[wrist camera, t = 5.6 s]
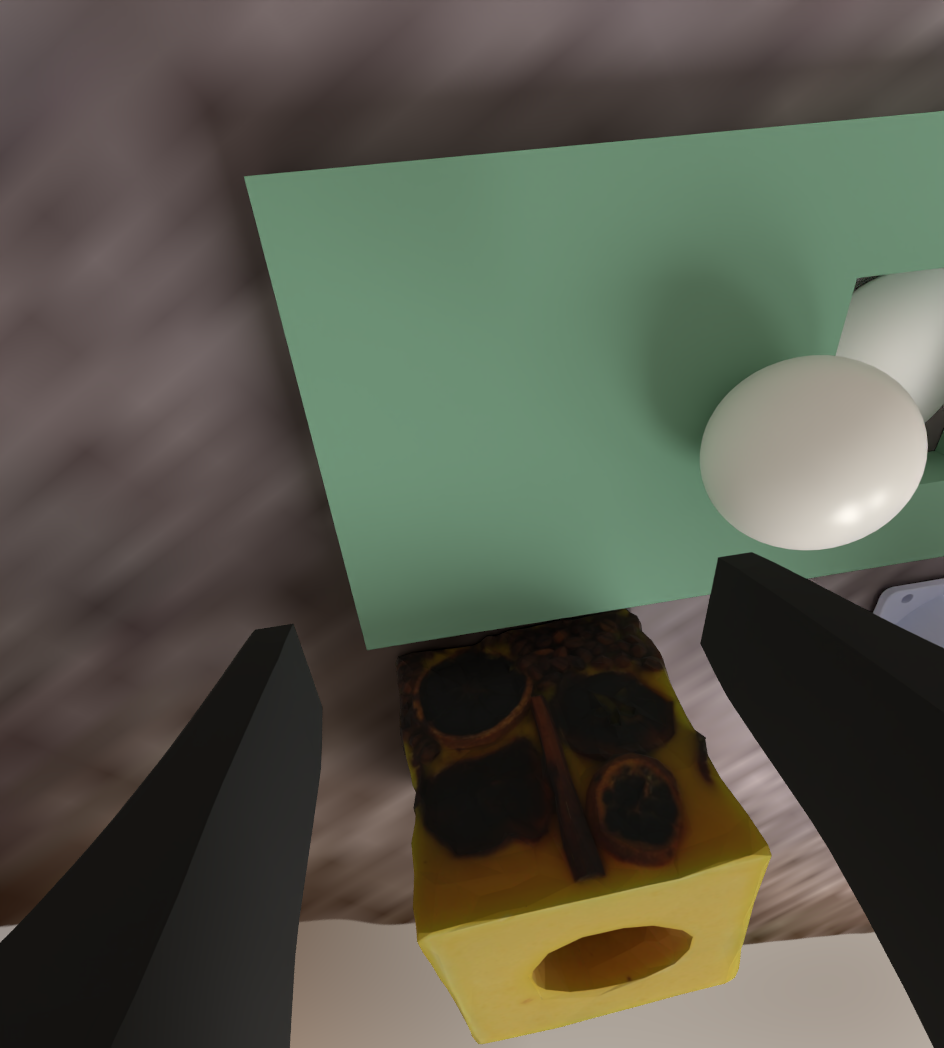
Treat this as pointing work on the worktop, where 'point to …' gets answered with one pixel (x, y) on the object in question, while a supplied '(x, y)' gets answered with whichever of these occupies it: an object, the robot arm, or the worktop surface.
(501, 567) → the green mat
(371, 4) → the worktop surface
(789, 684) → the robot arm
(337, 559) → the worktop surface
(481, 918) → the yellow cube with hole
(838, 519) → the ball
